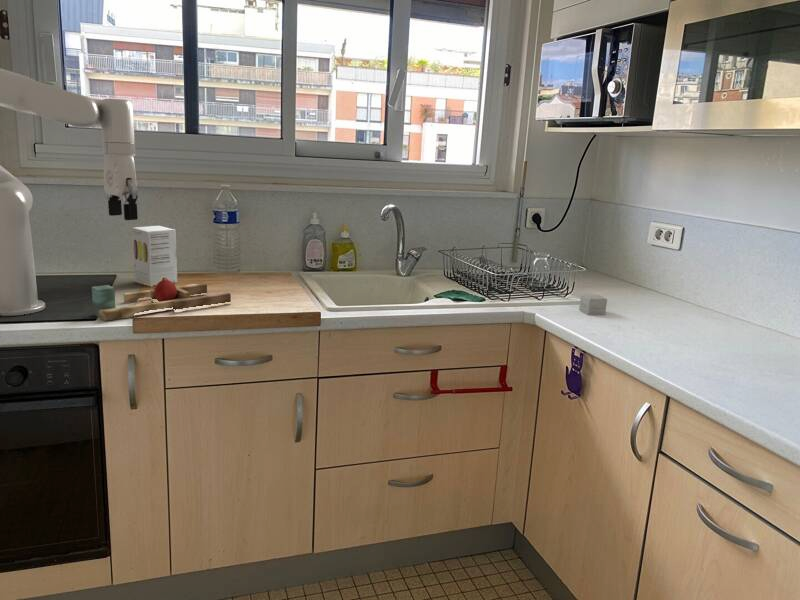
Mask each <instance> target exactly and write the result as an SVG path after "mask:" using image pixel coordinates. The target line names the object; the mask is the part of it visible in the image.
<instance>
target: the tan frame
mask: <svg viewBox="0 0 800 600" xmlns="http://www.w3.org/2000/svg"><path fill="white" fill-rule="evenodd" d="M175 287H176V285H175ZM176 289H177V297H176V299H175V300H168V301H162V302H155V303H153V302H148V303H142V304H137V305H129V306H122V307H116V293H115V287H113V286H111V285H109V284H106V285H105V284H104V285H97V286H96V285H95V286H91V296H92V297H91V298H92V310H93V315H95V316H96V317H98V319H101V320H102V321H105V322H108V321H115V320H121V319H127V318H131V317H132V318H133V316H134V314H135V313H139V312H144V311H149V310H157V309H164V308H172V307H173V301H177V300H183V299H190V298H191V297H190V292H188V291H185V290H183V289H181V288H178V287H176ZM134 317H135V316H134Z"/></svg>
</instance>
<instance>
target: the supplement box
mask: <svg viewBox="0 0 800 600" xmlns="http://www.w3.org/2000/svg"><path fill="white" fill-rule="evenodd" d="M176 236H177V233H176V229H174V228H170V227H166V226H162V225H149V226H136V227H135V226H133V227H132V245H133V246H132V247H133V265H134V267H133V268H134V282H136V283H138V284H140V285H143V284H142V283H145V284H148V285H156V284H158V283H159V282H160V281H162V278H163V277H167V279H168V280H169V281H171V282H177V283H178V266H177V265H178V264H177V263H178V261H177V237H176Z"/></svg>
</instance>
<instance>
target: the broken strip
mask: <svg viewBox="0 0 800 600" xmlns="http://www.w3.org/2000/svg"><path fill="white" fill-rule="evenodd" d="M193 285H198V283H197V284H196V283H192V284H186V285H185V284H184V285H179V286H178V285H177V286H176V285H175V286H176V287H185V286H193ZM151 291H152V290H149V289H147V290H140V291H134V292H126V293H123V302H124V304H131V303H138V302H137V300H138V299H139V298H144V297H151Z"/></svg>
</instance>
